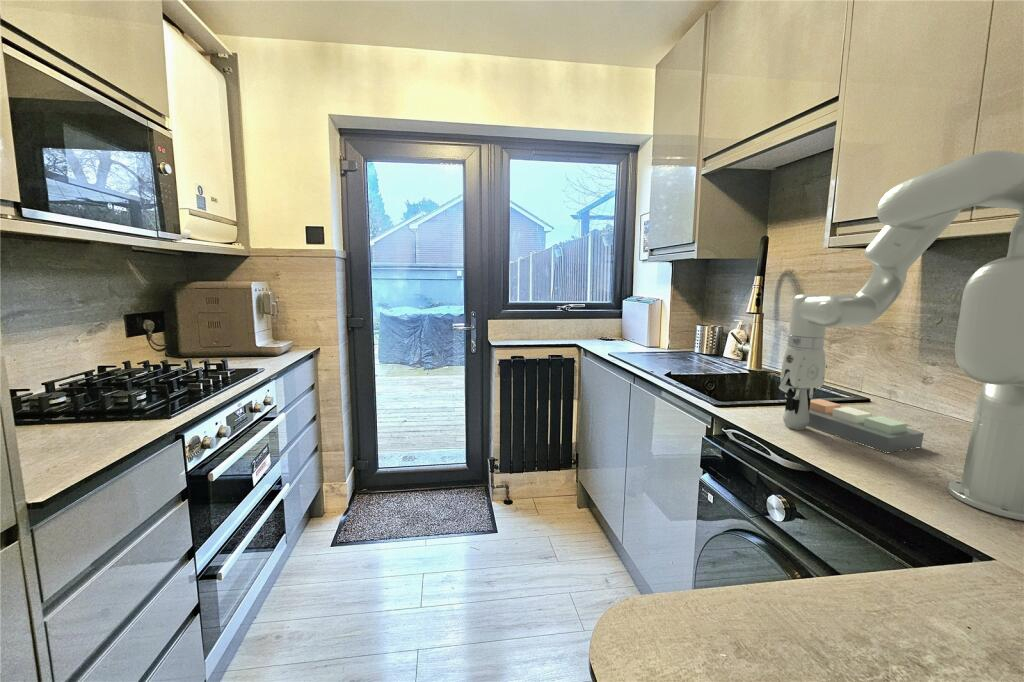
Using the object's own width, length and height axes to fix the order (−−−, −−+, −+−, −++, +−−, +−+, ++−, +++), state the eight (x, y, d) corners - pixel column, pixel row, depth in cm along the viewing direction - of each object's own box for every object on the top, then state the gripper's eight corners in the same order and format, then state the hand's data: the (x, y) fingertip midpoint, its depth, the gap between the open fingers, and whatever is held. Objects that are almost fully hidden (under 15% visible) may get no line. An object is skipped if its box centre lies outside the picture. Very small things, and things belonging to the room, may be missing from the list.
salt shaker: (807, 433, 108) (814, 383, 106) (780, 427, 111) (786, 379, 109) (808, 426, 113) (815, 378, 110) (783, 421, 116) (788, 375, 114)
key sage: (905, 438, 100) (907, 423, 99) (888, 440, 98) (891, 425, 98) (878, 429, 105) (880, 415, 105) (862, 432, 104) (864, 417, 103)
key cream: (869, 427, 107) (871, 413, 106) (854, 429, 105) (856, 415, 105) (846, 420, 112) (848, 406, 112) (831, 422, 111) (833, 408, 110)
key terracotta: (839, 417, 114) (840, 404, 114) (823, 419, 112) (825, 406, 112) (818, 411, 119) (820, 398, 119) (803, 413, 118) (805, 400, 117)
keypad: (921, 447, 100) (923, 433, 99) (886, 453, 96) (889, 438, 95) (819, 415, 122) (821, 403, 122) (788, 418, 118) (790, 406, 118)
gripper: (795, 346, 102) (786, 420, 105) (843, 344, 107) (833, 414, 110) (768, 341, 109) (760, 410, 112) (814, 339, 115) (806, 405, 117)
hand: (796, 411), depth 111 cm, fingers closed on salt shaker, 3 cm apart
